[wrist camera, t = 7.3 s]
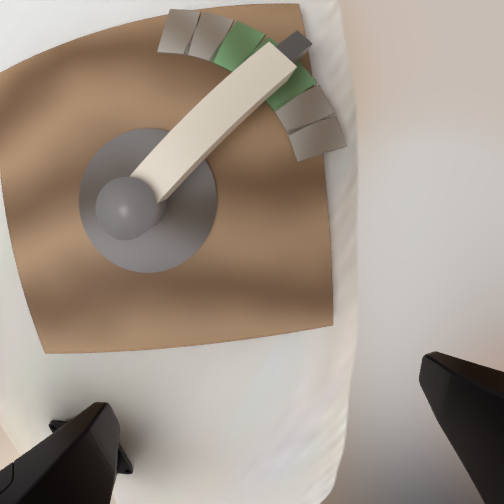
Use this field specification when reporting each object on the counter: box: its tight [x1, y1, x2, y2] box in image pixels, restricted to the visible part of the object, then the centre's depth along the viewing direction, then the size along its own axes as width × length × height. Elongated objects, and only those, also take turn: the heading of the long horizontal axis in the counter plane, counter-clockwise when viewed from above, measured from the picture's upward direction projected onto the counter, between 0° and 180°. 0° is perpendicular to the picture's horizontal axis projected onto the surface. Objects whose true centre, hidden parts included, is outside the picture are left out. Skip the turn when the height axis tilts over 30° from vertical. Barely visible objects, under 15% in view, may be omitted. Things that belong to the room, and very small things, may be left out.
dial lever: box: [96, 30, 312, 240], centre depth 14 cm, size 13×3×3 cm, turn 135°
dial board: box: [0, 4, 346, 354], centre depth 17 cm, size 20×21×1 cm
